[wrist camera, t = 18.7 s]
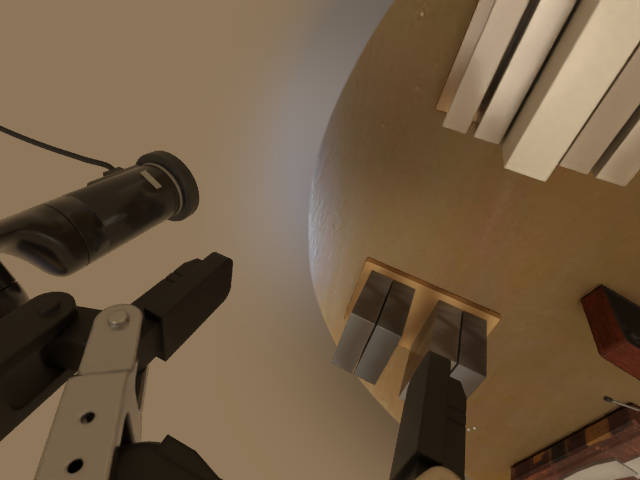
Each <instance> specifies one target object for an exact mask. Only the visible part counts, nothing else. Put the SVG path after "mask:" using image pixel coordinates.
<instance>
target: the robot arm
mask: <svg viewBox="0 0 640 480" xmlns="http://www.w3.org/2000/svg"><path fill="white" fill-rule="evenodd" d="M0 131H2V132H4V133H6V134H9V135H11V136H14V137H16V138H18V139H21V140H23V141H26V142H28V143H31V144H33V145H36V146H39V147H42V148H45V149H47V150H50V151H53V152H56V153H59V154H62V155H65V156H68V157H71V158H74V159H77V160H80V161H83V162H86V163H90V164H94V165H98V166H102V167H105V168H107V169H109V171H106V172H104V173H103V176H104V177H102V178H99V179H96V180H94V181H91V182H89V183H88V184H87V187H84V188H81V189H79V190H76V191H74V192H71V193H68V194H66V195H63V196H61V197H58V198H55V199H53V200H50V201H48V202H45V203H42V204H40V205H37V206H35V207H32V208H30V209H28V210H25V211H22V212H20V213H17V214H15V215H12V216H9V217H7V218H5V219H2V220H0V253H5V254H9V255H12V256H15V257H18V258H21V259H23V260H25V261H27V262H29V263H31V264H32V265H34V266H36V267H37V268H39V269H41V270H42V271H44V272H46V273H48V274H51V275H54V276H58V277H65V276H69V275H71V274H73V273H75V272H77V271H79V270H80V269H82V268H84V267H85V266H87V265H89V264H91V263H92V262H94V261H96V260H98V259H99V258H101V257H103V256H105V255H106V254H108V253H110V252H111V251H113V250H115V249H116V248H118V247H120V246H122V245H123V244H125V243H127V242H128V241H130V240H132V239H134V238H136V237H137V236H139V235H141V234H143V233H144V232H146V231H148V230H149V229H151V228H153V227H155V226H156V225H158V224H160V223H162V222H163V221H165V220H167V219H169V218H170V217H173V216H175V215H177V214H179V213H180V212H181V211H182V210H183V208H184V205H185V195H184V191H183V188H182V186H181V184H180V182H179V180H178V179H177V177H176V176H175V175H174V174H173V172H172V171H171V170H169V169H168V168H167V167H166V166H164V165H162V164H160V163H157V162H148V163H145V164H141V163H139V164H137V165H134V166H131V167H129V168H126V169H123V168H120V167H118V168H114V167H113V166H112V165H110V164H108V163H106V162H103V161H99V160H95V159H91V158H87V157H84V156H80V155H78V154H75V153H71V152H68V151H65V150H62V149H59V148H56V147H53V146H50V145H47V144H45V143H42V142H39V141H36V140H34V139H31V138H28V137H26V136H23V135H21V134H18V133H16V132H14V131H11V130H9V129H6V128H4V127H2V126H0ZM232 267H233V261H232V259H230V258H228V257H225V256H223V255H221V254H219V253H217V252H213V253H211V254H210V255H209V256H207V257H206V258H205V259H204V260H200V259H198V258H197V259H194V260H191V261H189V262H186V263H184V264H182V265H181V266H180V267H179V268H177V269H176V270H175V271H174V272H173V273H171V274H169V275H168V276H167V277H166V278H165V279H163V280H162V281H160V282H159V283H158V284H156V285H155V286H154V287H152V288H151V289H150V290H149V291H147V292H146V293H145V294H143V295H142V296H141V297H140V298H138V299H137V300H136V301H134V302H133V303H131V304H118V305H114V306H111V307H108V308H106V309H104V310H97V309H91V308H85V307H79V306H76V303H75V300H74V298H73V297H72V296H71V295H70V294H68V293H64V292H49V293H44V294H41V295H39V296H36V297H35V298H33V299H31V300H30V299H29V297H28V295H27V293H26V292H25V291H24V289H23V287H22V286H21V285H20V284H19V283H18V281H15V280H16V279H15V278H14V277H13V275H12V274H11V273H10V272H9V271H8V269H7V268H6V267H5V266H4V265H3V263H2V262H1V261H0V441H1V440H2V439H3V438H4V437H6V436H7V435H8V434H9V433H10V432H11V431H12V430H13V429H14V428H15V427H17V426H18V425H19V424H20V423H21V422H22V421H23V420H24V419H25V418H27V417H28V416H29V415H30V414H31V413H32V412H33V411H34V410H35V409H36V408H38V407H39V406H40V405H41V404H42V403H43V402H44V401H45V400H46V399H47V398H48V397H50V396H51V395H52V394H53V393H54V392H55V391H56V390H57V389H58V388H60V386H62V385H63V384H64V383H65V382H66V381H67V383H66V385H65V387H64V391H63V393H62V396H61V399H60V402H59V406H58V408H57V412H56V414H55V417H54V420H53V423H52V426H51V429H50V432H49V435H48V438H47V441H46V444H45V447H44V450H43V453H42V457H41V459H40V462H39V465H38V468H37V471H36V474H35V477H34V480H222V479H220V478H219V477H218V476H217V475H216V474H215V473H214V472H213V470H212V469H211V468H210V467H209V466H208V465H207V463H206V462H205V461H204V460H203V459H202V458H201V457H200V455H199V454H198V453H197V452H196V451H195V450H193V449H191V448H189V447H188V446H186V445H185V444H183V443H181V442H180V441H178V440H176V439H175V438H173V437H171V436H170V435H167V436H166V437H165V439H164V440H163V441H162V442H161V443H160V442H150V441H149V442H141V433H142V411H143V404H144V397H145V390H146V383H147V376H148V369H149V363H150V362H151V361H152V360H153V359H154V358H155V357H158V358H160V359H162V360H164V361H167V360H168V359H169V358H170V357H171V356H172V354H173V353H174V352H175V351H176V350H177V349H178V348H179V347H180V346H181V345H182V344H183V343H184V342H185V341H186V340H187V339H188V338H189V337H190V336H191V335H192V334H193V333H194V332H195V331H196V329H197V328H198V327H199V326H200V325H201V324H202V323H203V322H204V321H205V320H206V319H207V318H208V317H209V316H210V315H211V314H212V313H213V312H214V311H215V310H216V309H217V308H218V307H219V306H220V305H221V303H223V302H224V300H225V299H226V297H227V296H228V294H229V292H230V288H231V279H232ZM77 371H78V373H77V374H76V375H74V374H75V373H76V372H77ZM450 372H451V360H450V359H448V358H446V357H443V356H441V355H439V354H437V353H435V352H432V351H430V350H429V351H428V352H427V353H426V355H425V357H424V358H423V360H422V361H421V363H420V364H419V366H418V367H417V369H416V371H415V372H414V374H413V375H412V377H411V380H410V382H409V385H408V388H407V393H406V398H405V403H404V408H403V413H402V418H401V423H400V428H399V433H398V438H397V443H396V448H395V454H394V458H393V463H392V468H391V474H390V479H389V480H465V477H464V469H465V433H466V428H465V425H466V415H465V414H466V395H465V392H464V389H463V386H462V384H461V381H459V380H456V379H454V378H452V377H450Z"/></svg>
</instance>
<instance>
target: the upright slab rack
mask: <svg viewBox="0 0 640 480" xmlns="http://www.w3.org/2000/svg"><path fill="white" fill-rule="evenodd" d="M576 2H577V0H479V1H478V4H477V6H476V9H475V11H474V14H473V16H472V19H471V21H470V24H469V26H468V29H467V31H466V34H465V36H464V39H463V41H462V44H461V46H460V49H459V51H458V54H457V56H456V59H455V61H454V63H453V66H452V68H451V71H450V73H449V76H448V78H447V81H446V83H445V86H444V88H443V91H442V93H441V96H440V98H439V101H438V103H437V106H436V109H437V110H440V111H443V112H446V113H447V115H446V117H445V119H444V122H443V124H442V127H445V128H448V129H451V130H454V131H457V132H460V133H463V134H466V133H467V132H468V129H469V127H470V125H471V123H472V121H474V122H476V123H475V130H474V136H473V137H475V138H478V139H481V140H484V141H487V142H490V143H493V144H496V145H499V144H500V142H501V140H502V138H503V136H504V135H505V133H506V131H507V129H508V127H509V125H510V124H511V122H512V120H513V118H514V116H515V114H516V112H517V111H518V109H519V107H520V105H521V103H522V101H523V100H524V98H525V96H526V94H527V92H528V90H529V89H530V87H531V85H532V83H533V81H534V79H535V78H536V76H537V74H538V72H539V70H540V68H541V66H542V65H543V63H544V61H545V59H546V57H547V55H548V54H549V52H550V50H551V48H552V46H553V44H554V43H555V41H556V39H557V37H558V35H559V33H560V31H561V30H562V28H563V26H564V24H565V22H566V20H567V19H568V17H569V15H570V13H571V11H572V9H573V8H574V6H575V4H576ZM558 164H559V166H562V167H565V168H568V169H571V170H574V171H577V172H580V173H583V174H586V175H587V174H588V173H589V171H590V170H591V172H592V173H593V174H594V176H595V177H596V178H598V179H601V180H604V181H607V182H610V183H613V184H616V185H619V186H622V187H625V186H626V185H627V184H628V183H629V181H630V180H631V179H632V178H633V177H634V175H635V174H636V173H637V172H638V171H639V169H640V41H639V43H638V44H637V46H636V47H635V49H634V50H633V52H632V53H631V55H630V56H629V58H628V59H627V61H626V62H625V64H624V65H623V67H622V68H621V70H620V71H619V73H618V74H617V76H616V77H615V79H614V80H613V82H612V83H611V85H610V86H609V88H608V89H607V91H606V92H605V94H604V95H603V97H602V98H601V100H600V101H599V103H598V104H597V106H596V107H595V109H594V110H593V112H592V113H591V115H590V116H589V117H588V119H587V120H586V122H585V123H584V125H583V126H582V128H581V129H580V131H579V132H578V134H577V135H576V137H575V138H574V140H573V141H572V143H571V144H570V146H569V147H568V149H567V150H566V152H565V153H564V155H563V156H562V158H561V159H560V161H559V162H558Z"/></svg>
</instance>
